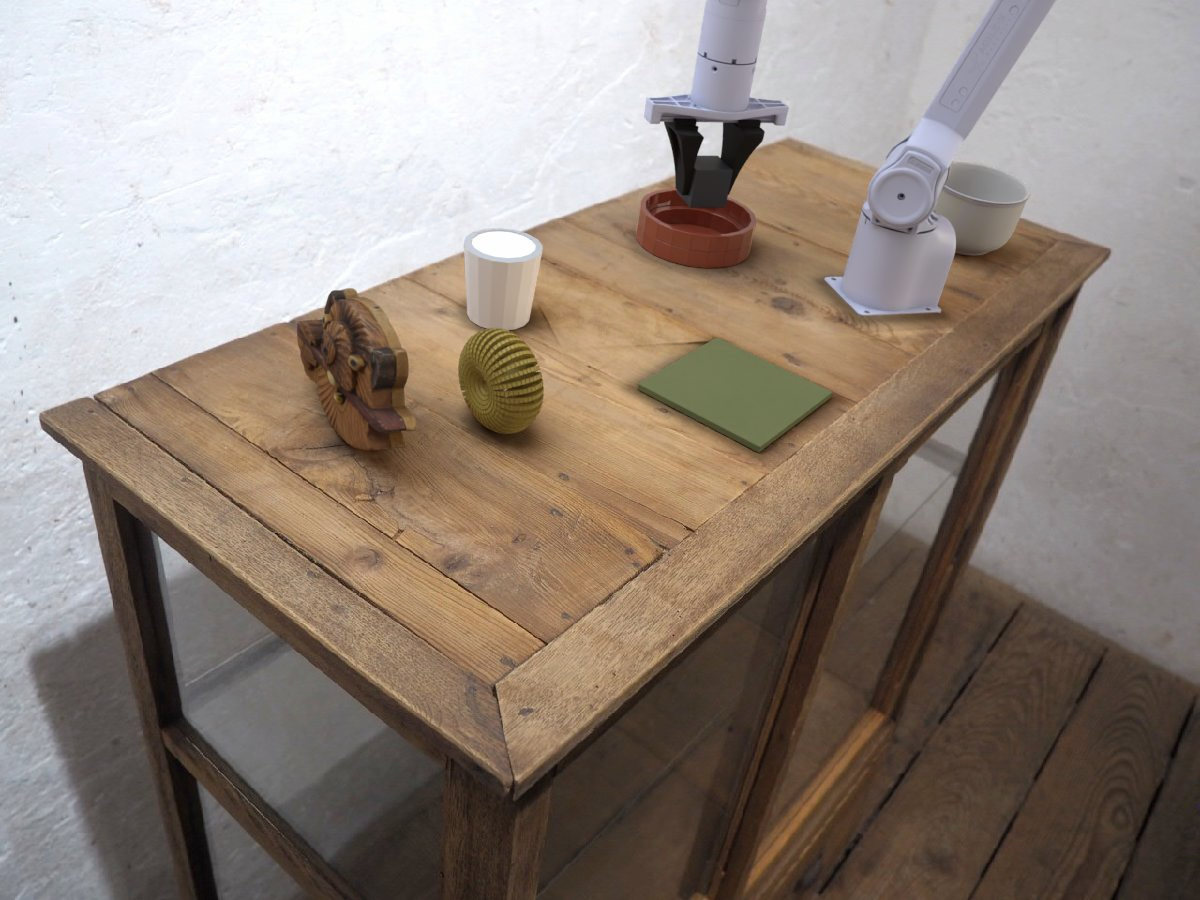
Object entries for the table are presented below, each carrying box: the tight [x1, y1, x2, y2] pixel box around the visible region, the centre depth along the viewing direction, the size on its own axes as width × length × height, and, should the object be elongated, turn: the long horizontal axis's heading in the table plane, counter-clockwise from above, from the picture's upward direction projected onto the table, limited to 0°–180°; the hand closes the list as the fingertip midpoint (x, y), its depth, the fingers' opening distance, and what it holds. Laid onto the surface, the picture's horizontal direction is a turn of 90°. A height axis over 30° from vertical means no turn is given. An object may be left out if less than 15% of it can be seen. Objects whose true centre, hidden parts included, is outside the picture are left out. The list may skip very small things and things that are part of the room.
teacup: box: [935, 160, 1031, 257], centre depth 119 cm, size 14×11×8 cm
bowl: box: [635, 187, 758, 269], centre depth 111 cm, size 12×12×4 cm
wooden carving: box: [296, 287, 417, 451], centre depth 75 cm, size 16×5×10 cm, turn 38°
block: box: [677, 155, 733, 208], centre depth 108 cm, size 4×4×4 cm
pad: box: [636, 337, 833, 453], centre depth 88 cm, size 12×12×1 cm
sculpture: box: [457, 328, 545, 435], centre depth 78 cm, size 8×4×8 cm, turn 40°
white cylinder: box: [463, 227, 544, 331], centre depth 93 cm, size 7×7×7 cm
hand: (702, 191), depth 108 cm, fingers closed on block, 4 cm apart
